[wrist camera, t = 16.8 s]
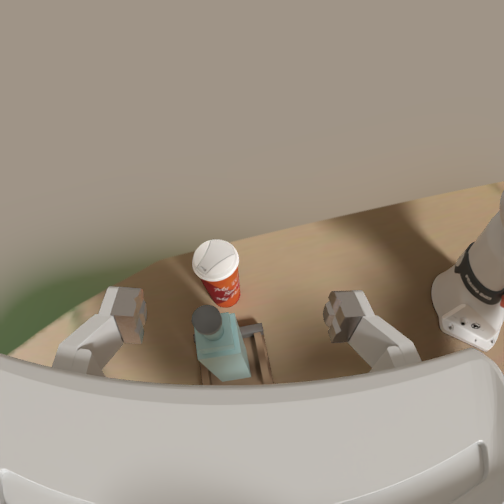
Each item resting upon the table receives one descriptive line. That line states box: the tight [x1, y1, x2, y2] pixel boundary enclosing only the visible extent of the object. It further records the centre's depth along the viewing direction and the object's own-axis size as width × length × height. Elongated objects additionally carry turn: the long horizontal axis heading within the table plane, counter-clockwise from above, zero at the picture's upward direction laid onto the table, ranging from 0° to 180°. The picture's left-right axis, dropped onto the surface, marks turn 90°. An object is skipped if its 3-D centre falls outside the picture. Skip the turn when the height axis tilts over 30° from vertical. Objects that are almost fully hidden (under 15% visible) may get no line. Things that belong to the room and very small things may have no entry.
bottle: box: [192, 305, 251, 382], centre depth 38 cm, size 5×5×24 cm
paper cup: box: [192, 240, 240, 307], centre depth 51 cm, size 8×8×14 cm
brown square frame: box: [193, 323, 274, 385], centre depth 47 cm, size 12×12×3 cm
